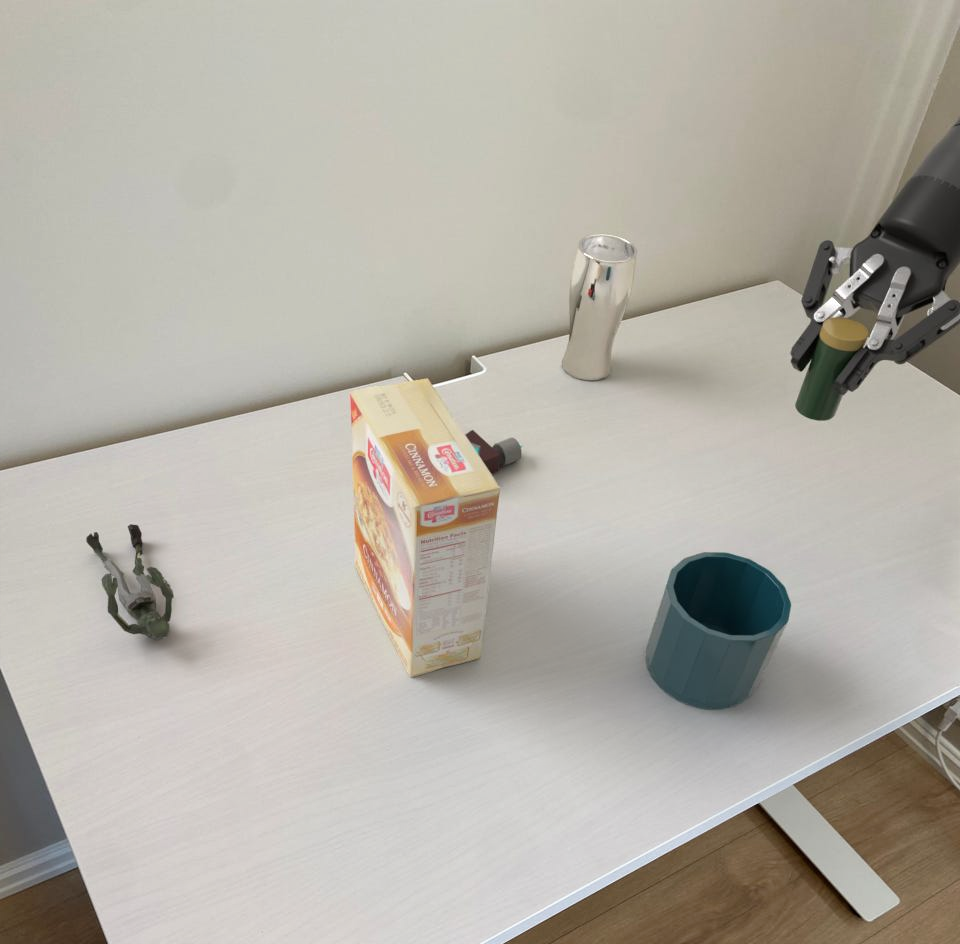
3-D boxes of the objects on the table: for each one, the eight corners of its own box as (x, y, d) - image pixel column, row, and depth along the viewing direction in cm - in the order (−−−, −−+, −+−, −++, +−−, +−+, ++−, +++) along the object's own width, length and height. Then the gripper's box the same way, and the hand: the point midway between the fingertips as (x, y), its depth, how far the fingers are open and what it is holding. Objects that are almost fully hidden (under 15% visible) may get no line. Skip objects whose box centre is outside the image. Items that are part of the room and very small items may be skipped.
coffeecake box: (352, 565, 91) (346, 388, 77) (422, 548, 93) (430, 374, 79) (407, 680, 82) (413, 506, 68) (483, 659, 85) (504, 486, 70)
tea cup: (765, 641, 89) (797, 572, 82) (749, 724, 82) (782, 655, 75) (658, 609, 90) (680, 539, 84) (634, 688, 84) (656, 618, 77)
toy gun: (531, 463, 104) (536, 426, 100) (438, 500, 98) (441, 462, 95) (479, 416, 109) (482, 379, 105) (388, 449, 103) (388, 411, 100)
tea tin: (838, 403, 88) (870, 323, 82) (834, 426, 85) (867, 344, 79) (796, 393, 88) (825, 312, 82) (791, 415, 86) (820, 334, 80)
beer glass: (624, 364, 118) (649, 246, 107) (598, 390, 114) (621, 269, 103) (574, 344, 120) (594, 226, 109) (547, 368, 116) (565, 248, 105)
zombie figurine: (131, 484, 86) (179, 597, 78) (143, 540, 91) (189, 652, 83) (69, 498, 84) (111, 615, 76) (84, 555, 89) (126, 670, 81)
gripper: (869, 145, 80) (740, 324, 83) (1029, 210, 73) (883, 402, 76) (879, 195, 86) (759, 358, 89) (1027, 258, 80) (892, 433, 83)
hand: (817, 377), depth 83 cm, fingers closed on tea tin, 3 cm apart
